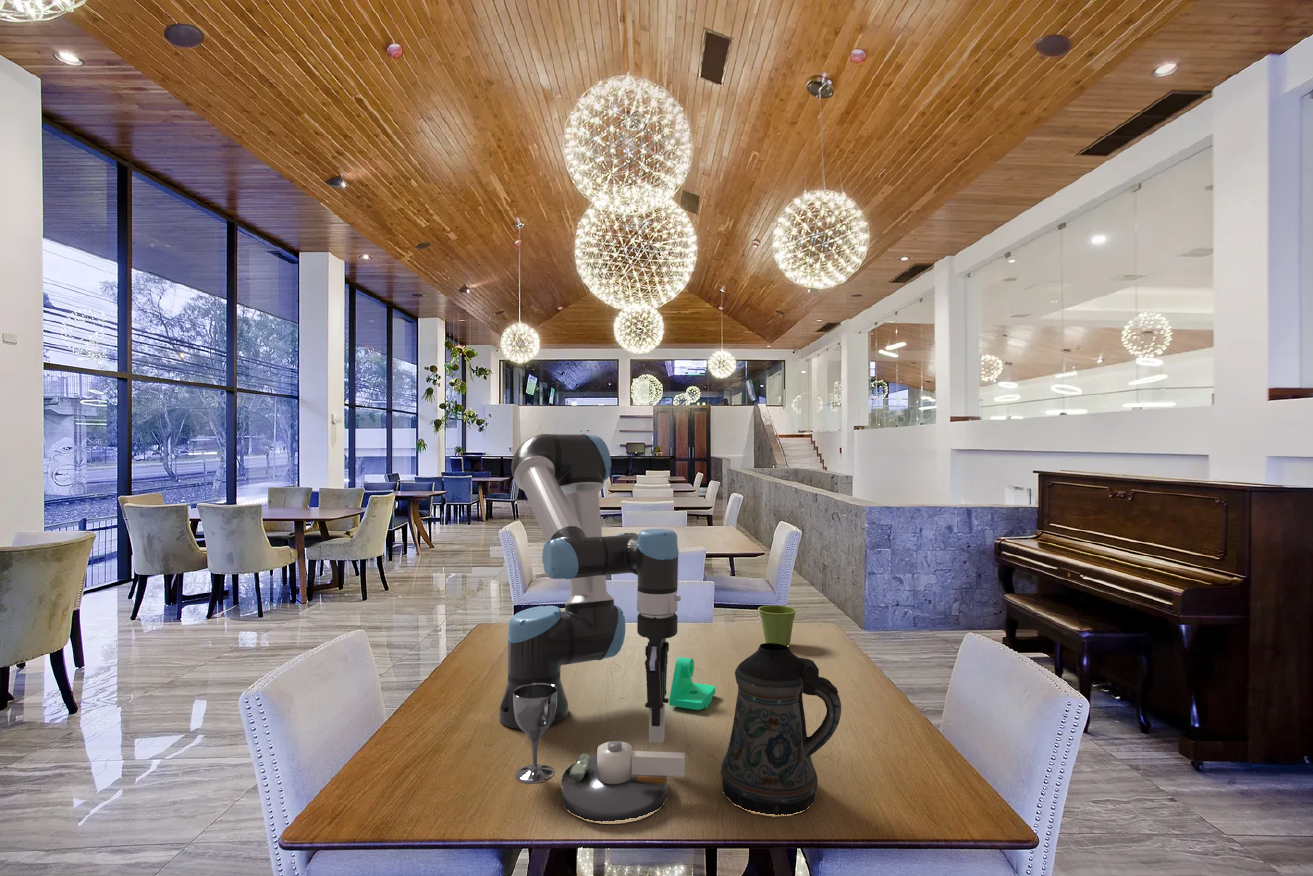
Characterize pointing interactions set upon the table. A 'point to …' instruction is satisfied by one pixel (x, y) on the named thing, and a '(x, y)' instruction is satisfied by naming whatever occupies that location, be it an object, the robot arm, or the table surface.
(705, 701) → the camera mount
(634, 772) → the knob
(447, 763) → the table surface
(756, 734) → the beer stein
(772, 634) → the plant pot
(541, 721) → the wine glass
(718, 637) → the table surface
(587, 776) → the base
